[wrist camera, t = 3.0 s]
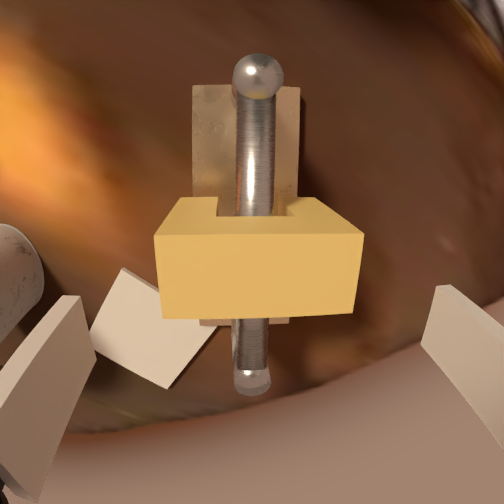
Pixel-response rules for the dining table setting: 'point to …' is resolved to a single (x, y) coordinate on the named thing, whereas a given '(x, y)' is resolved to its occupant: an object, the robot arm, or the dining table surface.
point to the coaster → (145, 331)
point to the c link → (256, 261)
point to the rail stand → (247, 176)
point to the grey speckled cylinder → (17, 277)
